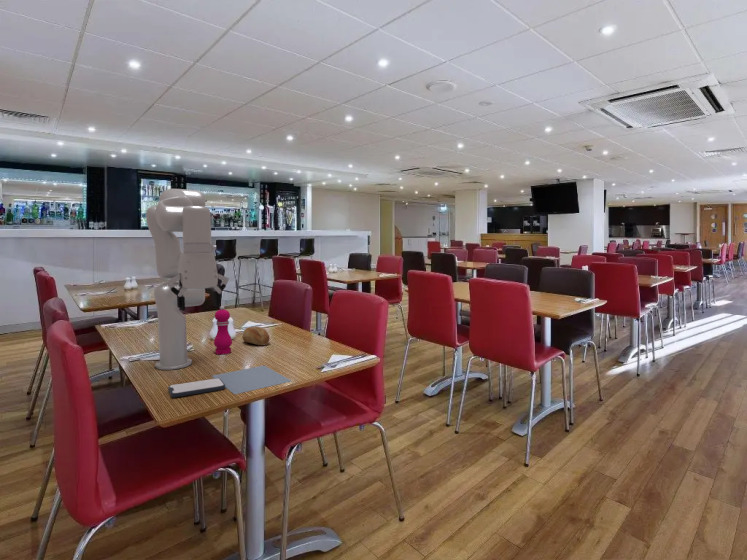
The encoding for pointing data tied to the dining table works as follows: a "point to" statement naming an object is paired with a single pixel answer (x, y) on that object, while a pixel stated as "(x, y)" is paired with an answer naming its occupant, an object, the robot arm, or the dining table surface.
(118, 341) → the dining table surface
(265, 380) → the slate mat
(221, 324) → the pepper mill
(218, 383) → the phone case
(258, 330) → the bread roll
